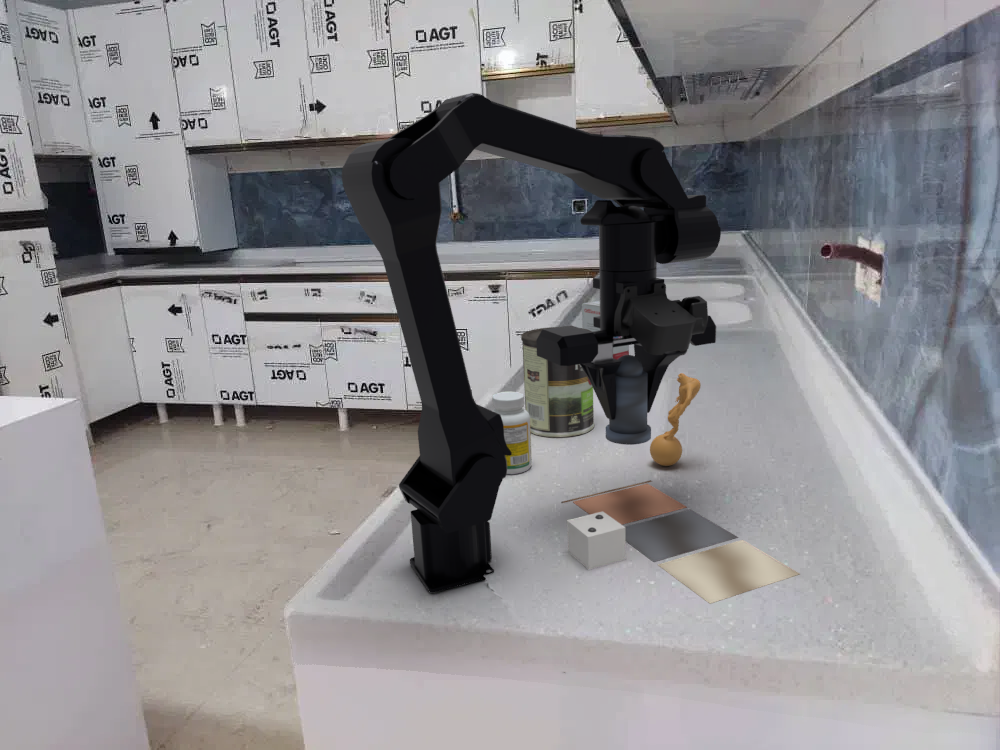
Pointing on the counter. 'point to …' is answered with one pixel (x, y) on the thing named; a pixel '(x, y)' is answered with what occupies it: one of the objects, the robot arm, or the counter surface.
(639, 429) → the pawn
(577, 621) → the counter surface
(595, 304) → the ink box
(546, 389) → the coffee can
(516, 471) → the supplement bottle
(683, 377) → the figurine
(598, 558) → the white die
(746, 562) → the game board
